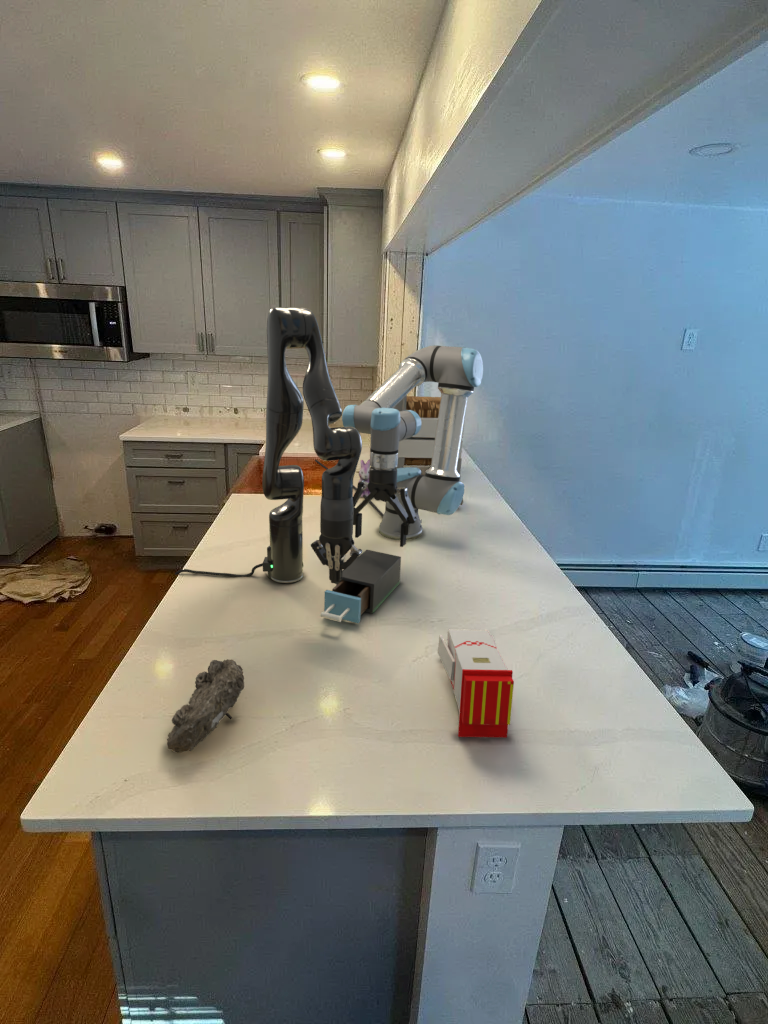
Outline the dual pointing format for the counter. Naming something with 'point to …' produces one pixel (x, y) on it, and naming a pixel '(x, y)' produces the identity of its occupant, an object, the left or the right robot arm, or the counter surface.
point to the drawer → (346, 601)
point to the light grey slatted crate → (421, 432)
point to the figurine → (364, 475)
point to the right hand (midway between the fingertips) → (380, 540)
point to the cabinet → (375, 575)
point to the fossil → (206, 705)
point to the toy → (478, 682)
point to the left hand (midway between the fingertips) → (335, 582)
